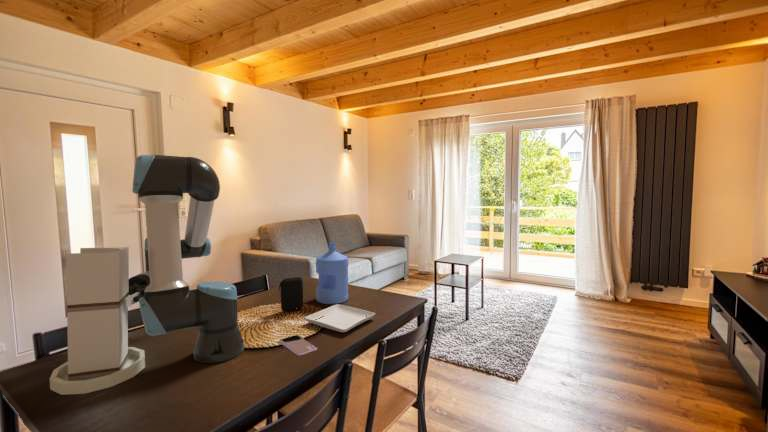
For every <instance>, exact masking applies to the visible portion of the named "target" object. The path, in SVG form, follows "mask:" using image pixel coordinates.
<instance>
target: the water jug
mask: <svg viewBox="0 0 768 432" xmlns="http://www.w3.org/2000/svg"><path fill="white" fill-rule="evenodd" d="M315 268H316V269H315V272H316V274H317V275H318V283H317V285H316V286H315V287H316V289H315V291H316V295H315V299H316V301H317V302H318V303H320V304H324V305H336V304H342V303H344V302H346V301H348V300H349V257H348V256H347V255H344V254H343V253H340V252H338V251H336V243H335V242H328V251H326V252H325V253H323V254H320V255H319V256H317V257H316V258H315Z"/></svg>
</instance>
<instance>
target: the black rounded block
mask: <svg viewBox="0 0 768 432" xmlns="http://www.w3.org/2000/svg"><path fill="white" fill-rule="evenodd" d="M278 291H280V308H281V310H282V311H283V312H292V311H293V312H294V311H298V310H302V308H303V307H304V282H303V278H302V277H299V276H298V277H297V276H296V277H287V278H283V279H282V280H281V281H280V283H279V284H278ZM301 307H302V308H301ZM296 308H297V309H296Z"/></svg>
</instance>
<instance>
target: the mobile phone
mask: <svg viewBox="0 0 768 432" xmlns="http://www.w3.org/2000/svg"><path fill="white" fill-rule="evenodd" d="M278 343H279V344H281V345H282V346H283V347H285V348H286V349H287V350H288V351H290V352H292V353H293V354H295V355H296V356H299V357H300V356H303V355H306V354H310V353H312V352H315V351H317V350H318V347H317V346H315V345H313V343H310V342H309V341H307V340H306V339H305V338H303V337H301V336H300V335H298V334H295V335H291V336H288V337H284V338H281V339H279V340H278Z"/></svg>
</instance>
